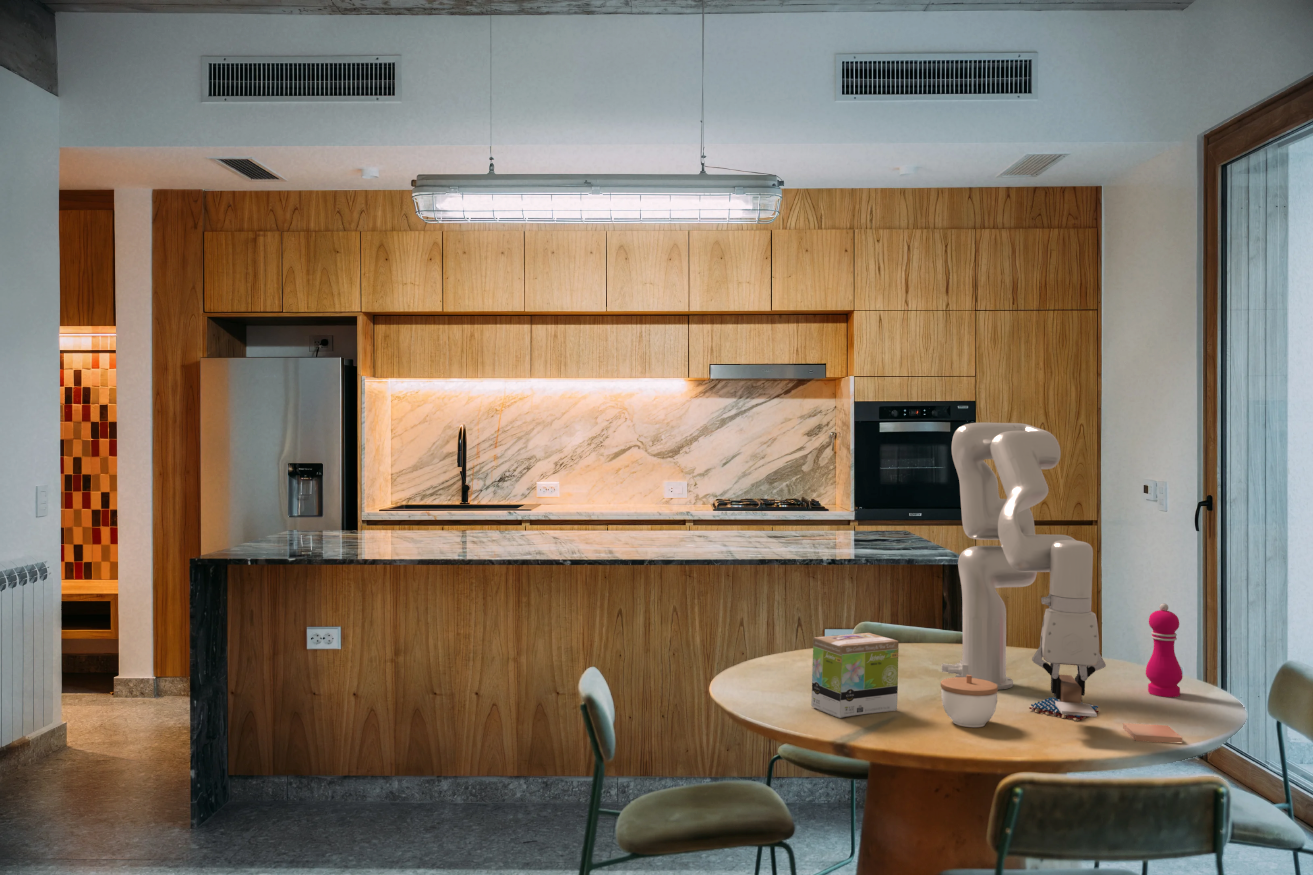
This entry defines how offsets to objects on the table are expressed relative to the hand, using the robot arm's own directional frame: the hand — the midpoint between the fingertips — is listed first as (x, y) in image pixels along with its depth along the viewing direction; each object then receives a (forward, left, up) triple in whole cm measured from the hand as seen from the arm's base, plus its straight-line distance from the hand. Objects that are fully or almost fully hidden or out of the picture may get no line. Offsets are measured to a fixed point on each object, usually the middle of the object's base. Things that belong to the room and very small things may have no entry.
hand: (1067, 697), depth 185 cm
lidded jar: (-19, -2, -6) cm, 20 cm away
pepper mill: (+26, +32, -6) cm, 42 cm away
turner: (0, -3, -1) cm, 3 cm away
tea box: (-41, +3, -6) cm, 41 cm away
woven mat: (+1, +11, -6) cm, 13 cm away
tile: (+14, +1, -5) cm, 15 cm away
